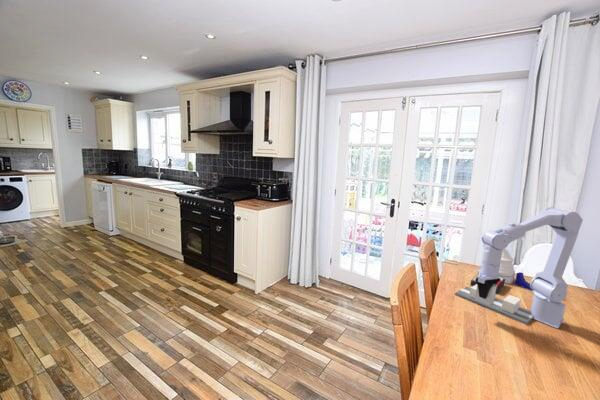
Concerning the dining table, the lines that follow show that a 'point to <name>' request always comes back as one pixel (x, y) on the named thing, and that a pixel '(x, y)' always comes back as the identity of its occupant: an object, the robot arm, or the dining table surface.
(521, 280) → the blue shoe
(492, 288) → the block
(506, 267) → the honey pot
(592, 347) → the dining table surface
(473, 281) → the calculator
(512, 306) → the mounted modules
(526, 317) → the rail board
